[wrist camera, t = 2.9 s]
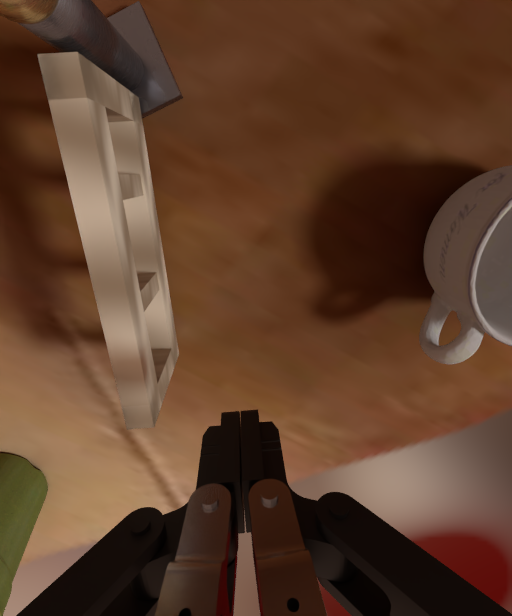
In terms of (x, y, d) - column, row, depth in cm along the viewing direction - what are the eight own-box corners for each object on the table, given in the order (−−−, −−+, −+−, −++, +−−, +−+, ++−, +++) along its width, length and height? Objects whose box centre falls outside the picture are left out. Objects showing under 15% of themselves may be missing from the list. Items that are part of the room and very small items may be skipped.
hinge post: (143, 8, 21) (-1, -237, 8) (183, 97, 22) (113, 5, 10) (70, 47, 21) (-166, -128, 9) (114, 132, 23) (-32, 84, 11)
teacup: (510, 128, 24) (632, 107, 17) (570, 247, 27) (695, 275, 20) (344, 259, 27) (385, 293, 19) (417, 353, 30) (475, 413, 23)
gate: (113, 99, 21) (37, 54, 13) (138, 97, 21) (77, 51, 13) (159, 355, 27) (126, 429, 19) (179, 353, 27) (154, 427, 19)
